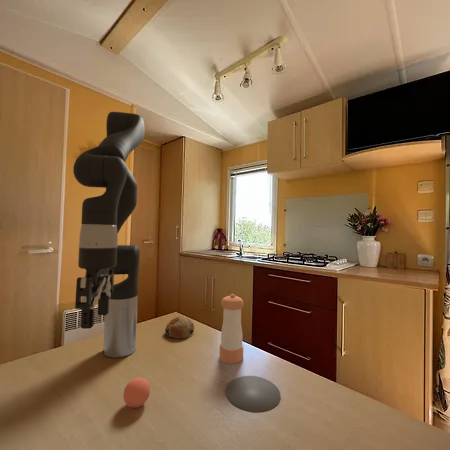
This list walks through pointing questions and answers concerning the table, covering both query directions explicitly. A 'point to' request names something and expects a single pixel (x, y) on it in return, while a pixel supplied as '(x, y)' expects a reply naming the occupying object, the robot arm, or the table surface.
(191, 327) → the bread roll
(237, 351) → the pepper shaker
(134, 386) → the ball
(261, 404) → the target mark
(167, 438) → the table surface
